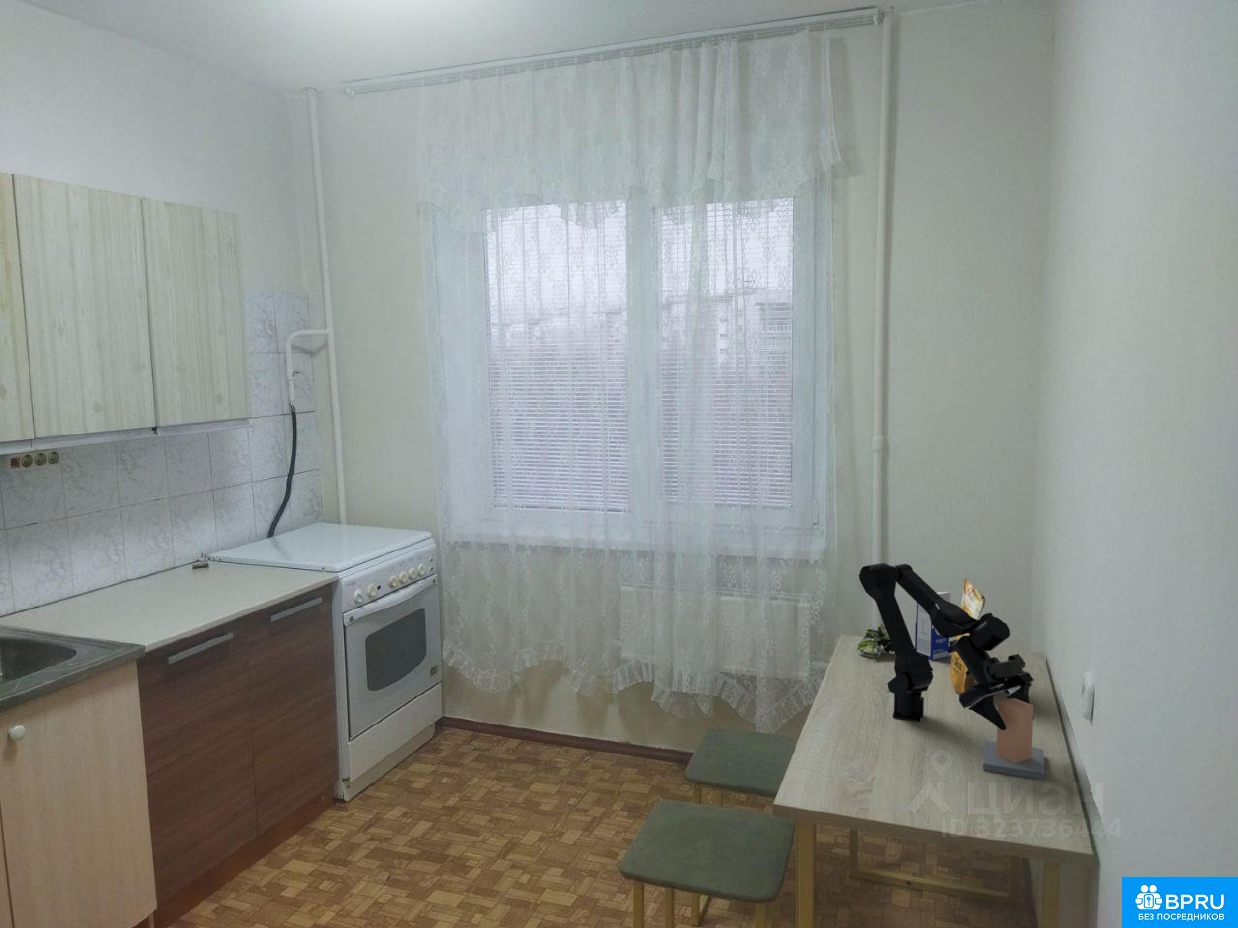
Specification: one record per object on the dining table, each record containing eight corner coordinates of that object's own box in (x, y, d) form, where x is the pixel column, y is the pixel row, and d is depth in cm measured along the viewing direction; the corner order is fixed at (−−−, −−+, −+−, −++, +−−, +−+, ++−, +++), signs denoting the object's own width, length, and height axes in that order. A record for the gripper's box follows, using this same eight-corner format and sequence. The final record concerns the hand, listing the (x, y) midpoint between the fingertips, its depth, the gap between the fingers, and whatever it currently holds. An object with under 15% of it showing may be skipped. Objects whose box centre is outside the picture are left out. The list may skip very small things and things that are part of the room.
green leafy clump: (885, 670, 262) (911, 640, 259) (876, 674, 252) (903, 644, 249) (856, 644, 267) (881, 615, 264) (847, 647, 257) (872, 617, 254)
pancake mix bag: (972, 674, 242) (975, 576, 239) (982, 700, 224) (986, 595, 221) (946, 672, 244) (949, 575, 241) (955, 698, 226) (958, 593, 222)
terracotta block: (996, 754, 190) (998, 702, 189) (1011, 749, 192) (1013, 697, 191) (1016, 763, 186) (1018, 710, 184) (1031, 758, 188) (1033, 705, 187)
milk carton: (931, 660, 253) (933, 594, 251) (914, 654, 259) (915, 589, 257) (949, 656, 257) (950, 591, 254) (931, 650, 263) (933, 586, 260)
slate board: (983, 769, 186) (983, 763, 186) (984, 746, 197) (984, 740, 197) (1044, 780, 181) (1045, 773, 181) (1042, 755, 192) (1043, 749, 192)
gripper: (971, 650, 185) (1014, 718, 177) (1027, 636, 194) (1071, 699, 186) (940, 674, 193) (981, 740, 185) (996, 659, 202) (1037, 721, 194)
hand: (1018, 724), depth 187 cm, fingers open, 9 cm apart
